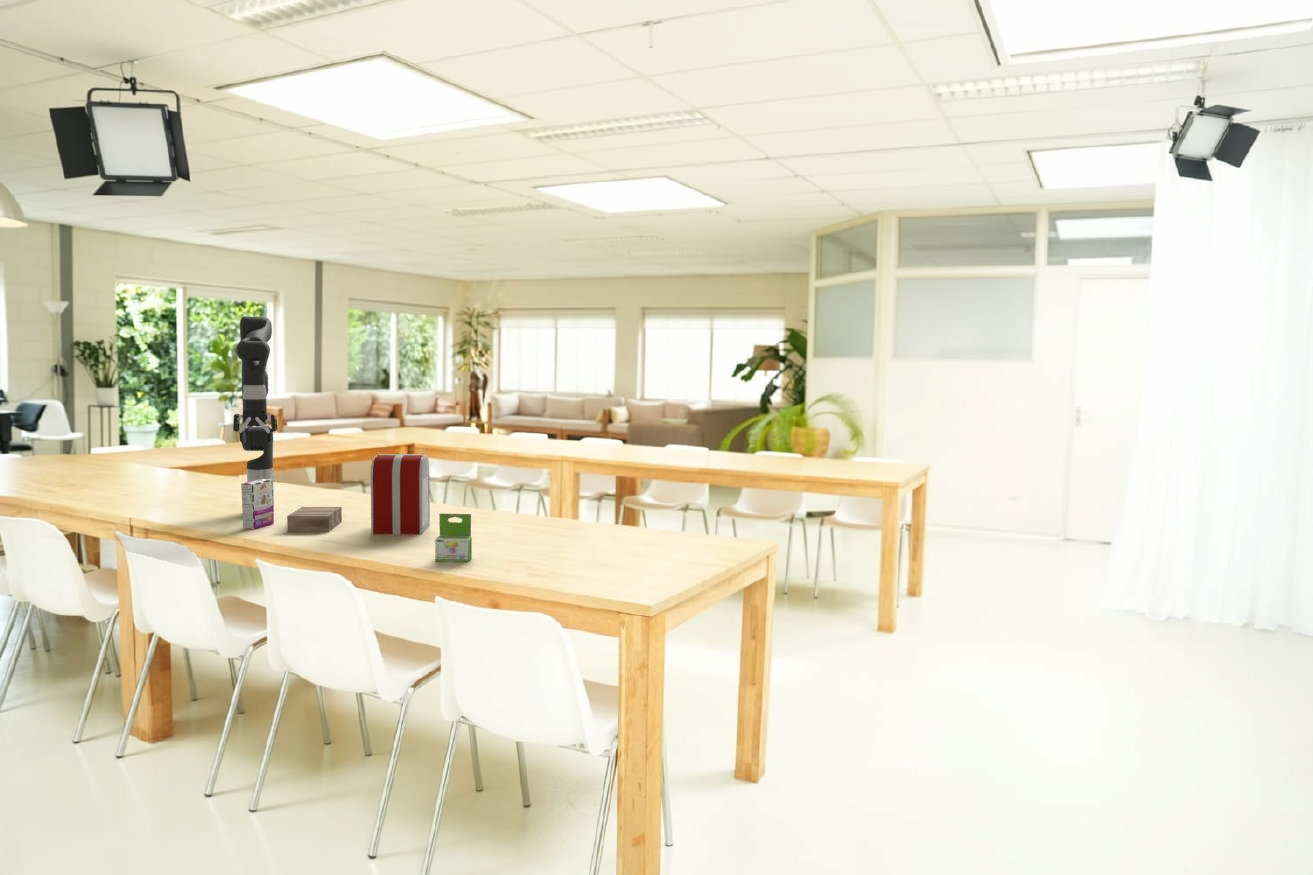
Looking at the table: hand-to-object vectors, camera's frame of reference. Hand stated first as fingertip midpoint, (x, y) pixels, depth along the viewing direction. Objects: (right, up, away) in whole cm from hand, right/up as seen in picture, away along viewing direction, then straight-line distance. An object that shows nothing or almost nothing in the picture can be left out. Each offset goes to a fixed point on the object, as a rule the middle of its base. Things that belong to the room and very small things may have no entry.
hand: (255, 443), depth 308 cm
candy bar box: (0, -30, +3) cm, 30 cm away
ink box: (+80, -36, -40) cm, 96 cm away
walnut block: (+19, -30, +4) cm, 36 cm away
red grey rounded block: (+51, -31, +2) cm, 60 cm away
